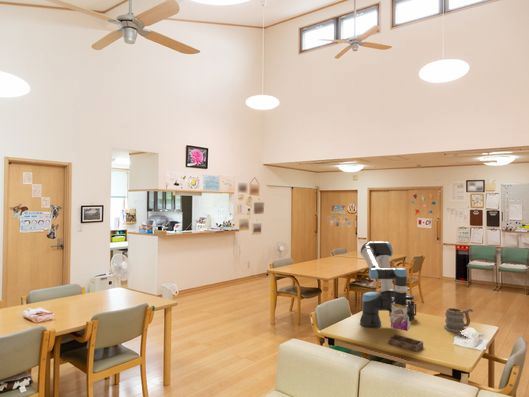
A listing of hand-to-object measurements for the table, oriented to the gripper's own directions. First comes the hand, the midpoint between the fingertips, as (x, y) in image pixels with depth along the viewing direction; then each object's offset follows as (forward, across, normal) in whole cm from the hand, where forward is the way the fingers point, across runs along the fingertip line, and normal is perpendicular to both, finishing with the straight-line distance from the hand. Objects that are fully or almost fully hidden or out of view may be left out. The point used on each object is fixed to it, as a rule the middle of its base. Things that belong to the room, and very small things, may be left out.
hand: (400, 323), depth 256 cm
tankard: (+10, +22, +47) cm, 53 cm away
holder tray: (+9, +9, -12) cm, 18 cm away
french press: (+10, -16, +48) cm, 51 cm away
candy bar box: (+3, 0, 0) cm, 3 cm away
